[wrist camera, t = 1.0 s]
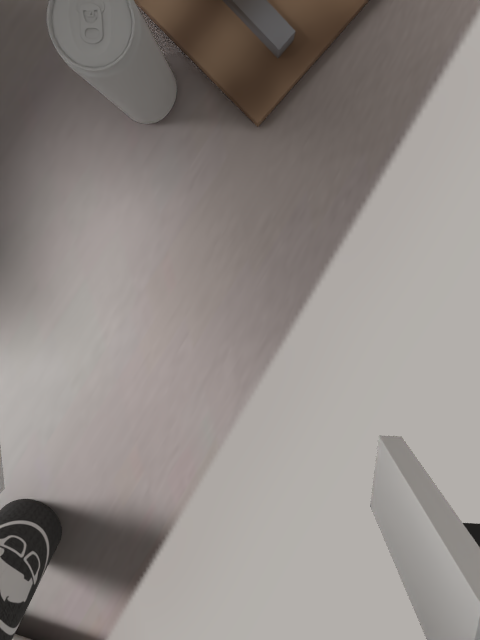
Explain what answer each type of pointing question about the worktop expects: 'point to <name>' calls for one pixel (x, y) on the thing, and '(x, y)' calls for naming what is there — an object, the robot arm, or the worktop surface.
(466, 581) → the robot arm
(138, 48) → the beverage can
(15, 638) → the crystal
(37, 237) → the worktop surface
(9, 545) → the coffee cup
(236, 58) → the board
